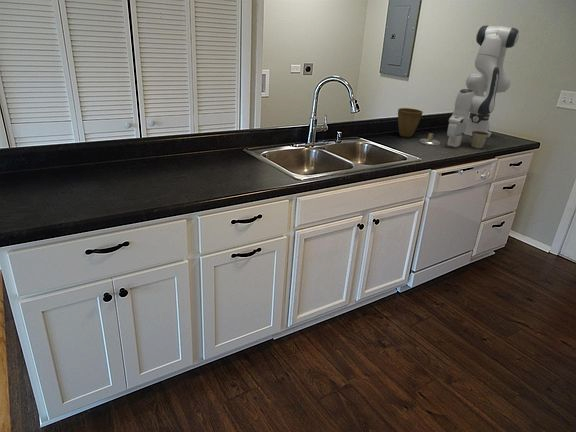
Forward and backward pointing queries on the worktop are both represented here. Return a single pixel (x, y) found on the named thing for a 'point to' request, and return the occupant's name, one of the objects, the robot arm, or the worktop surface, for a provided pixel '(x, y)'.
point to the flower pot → (478, 139)
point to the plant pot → (408, 121)
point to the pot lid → (429, 140)
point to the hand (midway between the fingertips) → (454, 141)
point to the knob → (456, 142)
